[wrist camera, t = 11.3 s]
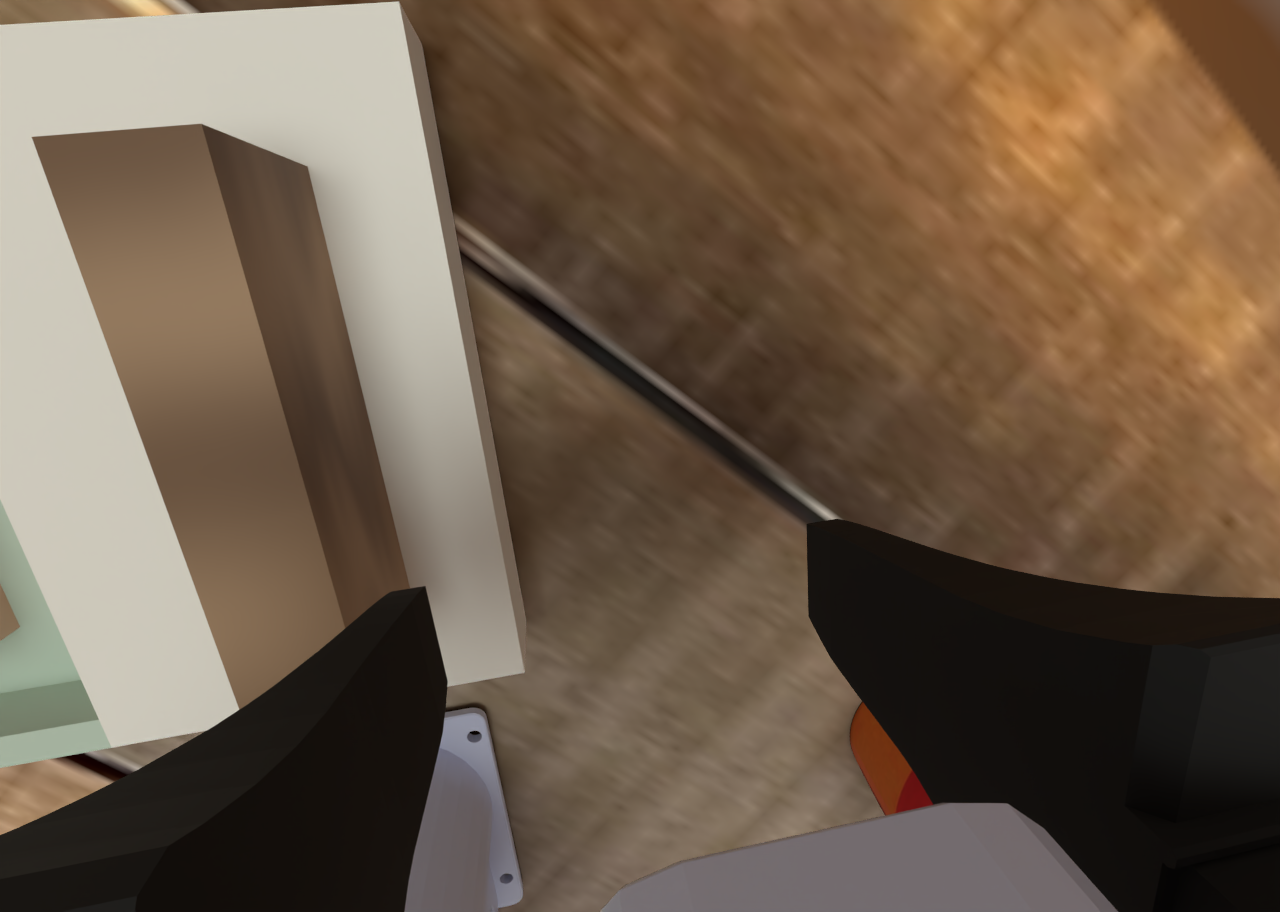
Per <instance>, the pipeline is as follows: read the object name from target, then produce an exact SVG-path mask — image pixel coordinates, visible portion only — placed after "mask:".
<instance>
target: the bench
mask: <svg viewBox="0 0 1280 912" xmlns="http://www.w3.org/2000/svg"><path fill="white" fill-rule="evenodd" d="M190 124H203V125H206V126H208V127H211V128H213V129H216V130H218V131H221V132H223V133H226V134H228V135H231V136H233V137H236V138H238V139H241V140H243V141H246V142H248V143H251V144H253V145H256V146H258V147H261V148H263V149H266V150H268V151H270V152H273V153H275V154H278V155H280V156H283V157H285V158H288V159H290V160H293V161H295V162H298V163H300V164H303V165H305V166H308V170H309V175H310V179H311V183H312V187H313V191H314V195H315V199H316V203H317V208H318V212H319V216H320V220H321V224H322V228H323V232H324V236H325V240H326V245H327V249H328V253H329V257H330V261H331V265H332V269H333V273H334V277H335V282H336V286H337V290H338V294H339V298H340V302H341V306H342V310H343V314H344V319H345V323H346V327H347V331H348V335H349V339H350V343H351V347H352V351H353V356H354V360H355V364H356V368H357V372H358V376H359V380H360V384H361V388H362V393H363V397H364V401H365V405H366V409H367V413H368V417H369V421H370V426H371V430H372V434H373V438H374V442H375V446H376V450H377V454H378V458H379V463H380V467H381V471H382V475H383V479H384V483H385V487H386V491H387V495H388V500H389V504H390V508H391V512H392V516H393V520H394V524H395V528H396V532H397V537H398V541H399V545H400V549H401V553H402V557H403V561H404V565H405V569H406V574H407V578H408V582H409V586H410V588H416V587H422V586H426V591H427V595H428V599H429V603H430V608H431V612H432V616H433V621H434V625H435V629H436V633H437V638H438V642H439V646H440V650H441V655H442V659H443V663H444V668H445V672H446V676H447V680H448V684H447V687H449V686H454V685H460V684H465V683H471V682H476V681H482V680H487V679H493V678H498V677H504V676H510V675H515V674H521V673H525V652H526V616H525V610H524V605H523V599H522V594H521V588H520V583H519V577H518V572H517V566H516V561H515V555H514V550H513V544H512V539H511V533H510V528H509V522H508V517H507V511H506V506H505V500H504V494H503V489H502V483H501V478H500V472H499V467H498V461H497V456H496V450H495V445H494V439H493V434H492V428H491V423H490V417H489V412H488V406H487V401H486V395H485V390H484V384H483V379H482V373H481V368H480V362H479V356H478V351H477V345H476V340H475V334H474V329H473V323H472V318H471V312H470V307H469V301H468V296H467V290H466V285H465V279H464V274H463V268H462V263H461V257H460V252H459V246H458V241H457V235H456V230H455V224H454V218H453V213H452V207H451V202H450V196H449V191H448V185H447V180H446V174H445V169H444V163H443V158H442V152H441V147H440V141H439V136H438V130H437V125H436V119H435V114H434V108H433V103H432V97H431V92H430V86H429V80H428V75H427V69H426V64H425V58H424V53H423V47H422V43H421V42H420V40H419V38H418V36H417V34H416V32H415V30H414V29H413V27H412V25H411V23H410V21H409V19H408V17H407V16H406V14H405V12H404V10H403V8H402V6H401V4H400V3H399V2H384V3H367V4H350V5H333V6H316V7H299V8H282V9H265V10H248V11H231V12H214V13H197V14H180V15H162V16H145V17H128V18H111V19H94V20H77V21H60V22H43V23H26V24H9V25H0V500H1V502H2V505H3V507H4V509H5V511H6V514H7V516H8V518H9V520H10V522H11V525H12V527H13V529H14V531H15V534H16V536H17V538H18V540H19V543H20V545H21V547H22V549H23V551H24V554H25V556H26V558H27V560H28V563H29V565H30V567H31V569H32V572H33V574H34V576H35V578H36V580H37V583H38V585H39V587H40V589H41V592H42V594H43V596H44V598H45V600H46V603H47V605H48V607H49V609H50V612H51V614H52V616H53V618H54V621H55V623H56V625H57V627H58V629H59V632H60V634H61V636H62V638H63V641H64V643H65V645H66V647H67V650H68V652H69V654H70V656H71V658H72V661H73V663H74V665H75V667H76V670H77V672H78V674H79V676H80V678H81V681H82V683H83V685H84V687H85V690H86V692H87V694H88V696H89V699H90V701H91V703H92V705H93V707H94V710H95V712H96V714H97V716H98V719H99V721H100V723H101V725H102V727H103V730H104V732H105V734H106V736H107V739H108V741H109V743H110V745H111V748H113V747H118V746H124V745H129V744H135V743H140V742H146V741H151V740H157V739H162V738H168V737H173V736H179V735H184V734H190V733H195V732H201V731H206V730H209V729H210V728H212V727H213V726H215V725H217V724H218V723H220V722H221V721H223V720H224V719H226V718H227V717H229V716H230V715H232V714H234V713H235V712H237V711H238V710H239V707H238V705H237V702H236V699H235V696H234V694H233V691H232V688H231V685H230V682H229V680H228V677H227V674H226V671H225V669H224V666H223V663H222V660H221V658H220V655H219V652H218V649H217V647H216V644H215V641H214V638H213V636H212V633H211V630H210V627H209V625H208V622H207V619H206V616H205V614H204V611H203V608H202V605H201V603H200V600H199V597H198V594H197V592H196V589H195V586H194V583H193V581H192V578H191V575H190V572H189V569H188V567H187V564H186V561H185V558H184V556H183V553H182V550H181V547H180V545H179V542H178V539H177V536H176V534H175V531H174V528H173V525H172V523H171V520H170V517H169V514H168V512H167V509H166V506H165V503H164V501H163V498H162V495H161V492H160V490H159V487H158V484H157V481H156V479H155V476H154V473H153V470H152V467H151V465H150V462H149V459H148V456H147V454H146V451H145V448H144V445H143V443H142V440H141V437H140V434H139V432H138V429H137V426H136V423H135V421H134V418H133V415H132V412H131V410H130V407H129V404H128V401H127V399H126V396H125V393H124V390H123V388H122V385H121V382H120V379H119V377H118V374H117V371H116V368H115V365H114V363H113V360H112V357H111V354H110V352H109V349H108V346H107V343H106V341H105V338H104V335H103V332H102V330H101V327H100V324H99V321H98V319H97V316H96V313H95V310H94V308H93V305H92V302H91V299H90V297H89V294H88V291H87V288H86V286H85V283H84V280H83V277H82V275H81V272H80V269H79V266H78V263H77V261H76V258H75V255H74V252H73V250H72V247H71V244H70V241H69V239H68V236H67V233H66V230H65V228H64V225H63V222H62V219H61V217H60V214H59V211H58V208H57V206H56V203H55V200H54V197H53V195H52V192H51V189H50V186H49V184H48V181H47V178H46V175H45V173H44V170H43V167H42V164H41V161H40V159H39V156H38V153H37V150H36V148H35V145H34V142H33V139H32V137H36V136H49V135H62V134H75V133H88V132H100V131H113V130H126V129H139V128H152V127H165V126H177V125H190Z"/></svg>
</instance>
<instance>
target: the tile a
mask: <svg viewBox="0 0 1280 912" xmlns="http://www.w3.org/2000/svg"><path fill="white" fill-rule="evenodd" d="M19 627H20V625H19V623H18V621H17V619H16V617H15V615H14V612H13V610H12V608H11V606H10V604H9V601H8V599H7V597H6V595H5V593H4V591H3V588H2V586H1V584H0V641H1V640H2V639H4V638H5V637H7V636H8V635H9V634H11V633H12V632H14V631H15V630H16V629H18V628H19Z"/></svg>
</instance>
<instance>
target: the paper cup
mask: <svg viewBox="0 0 1280 912" xmlns="http://www.w3.org/2000/svg"><path fill="white" fill-rule="evenodd" d="M850 743H851V747H852V750H853V753H854V756H855V758H856V760H857V762H858V764H859V767H860V769H861V771H862V773H863V775H864V776H865V778H866V780H867V782H868V784H869V786H870V788H871V790H872V792H873V794H874V796H875V797H876V799H877V801H878V803H879V805H880V807H881V809H882V810H883V812H884V814H885V816H886V815H890V814H895V813H899V812H904V811H908V810H913V809H917V808H922V807H926V806H931V805H933V803H932V802H931V800H930V798H929V797H928V795H927V793H926V791H925V790H924V788H923V786H922V785H921V783H920V781H919V780H918V778H917V776H916V775H915V773H914V772H913V770H912V769H911V767H910V766H909V764H908V763H907V761H906V760H905V758H904V757H903V755H902V754H901V752H900V751H899V750H898V748H897V747H896V746H895V744H894V743H893V742H892V740H891V739H890V738H889V736H888V735H887V734H886V732H885V731H884V730H883V728H882V727H881V726H880V724H879V723H878V721H877V720H876V719H875V717H874V716H873V715H872V713H871V712H870V711H869V709H868V708H867V707H866V705H865V704H864V703H863V702H862V703H861V705H860V706H859V708H858V710H857V712H856V714H855V716H854V718H853V721H852V725H851V730H850Z"/></svg>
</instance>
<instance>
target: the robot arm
mask: <svg viewBox="0 0 1280 912" xmlns="http://www.w3.org/2000/svg"><path fill="white" fill-rule="evenodd" d="M807 561H808V609H809V618H810V620H811V622H812V624H813V626H814V628H815V630H816V632H817V634H818V635H819V637H820V639H821V641H822V643H823V645H824V647H825V648H826V650H827V652H828V654H829V656H830V657H831V659H832V660H833V662H834V663H835V665H836V666H837V667H838V669H839V670H840V672H841V673H842V674H843V676H844V677H845V678H846V680H847V681H848V682H849V684H850V685H851V687H852V688H853V689H854V691H855V692H856V693H857V695H858V696H859V697H860V699H861V700H862V701H863V703H864V704H865V705H866V707H867V708H868V709H869V711H870V712H871V713H872V715H873V716H874V717H875V719H876V720H877V721H878V723H879V724H880V726H881V727H882V728H883V730H884V731H885V732H886V734H887V735H888V736H889V738H890V739H891V740H892V742H893V743H894V744H895V746H896V747H897V748H898V750H899V751H900V752H901V754H902V755H903V757H904V758H905V760H906V761H907V763H908V764H909V766H910V767H911V769H912V770H913V772H914V773H915V775H916V776H917V778H918V780H919V781H920V783H921V785H922V786H923V788H924V790H925V791H926V793H927V795H928V797H929V798H930V800H931V802H932V803H933V805H931V806H926V807H922V808H917V809H913V810H908V811H904V812H899V813H895V814H890V815H886V816H881V817H877V818H872V819H868V820H863V821H859V822H854V823H849V824H845V825H840V826H836V827H831V828H827V829H822V830H818V831H813V832H809V833H804V834H800V835H795V836H791V837H786V838H782V839H777V840H773V841H768V842H764V843H759V844H755V845H750V846H746V847H741V848H737V849H732V850H728V851H723V852H719V853H714V854H710V855H705V856H701V857H696V858H692V859H687V860H683V861H679V862H677V863H675V864H672V865H670V866H668V867H666V868H663V869H661V870H659V871H656V872H654V873H652V874H650V875H647V876H645V877H643V878H640V879H638V880H636V881H633V882H631V883H629V884H627V885H625V886H624V887H622V888H621V889H620V890H619V891H618V892H617V893H616V894H615V895H614V897H613V898H612V899H611V900H610V901H609V902H608V903H607V904H606V905H605V906H604V907H603V909H602V910H601V911H600V912H1280V598H1240V597H1210V596H1196V595H1182V594H1169V593H1156V592H1146V591H1136V590H1127V589H1119V588H1111V587H1104V586H1097V585H1090V584H1083V583H1076V582H1070V581H1064V580H1058V579H1052V578H1047V577H1042V576H1038V575H1033V574H1028V573H1023V572H1018V571H1014V570H1009V569H1005V568H1001V567H997V566H993V565H989V564H985V563H981V562H978V561H974V560H971V559H967V558H963V557H960V556H956V555H953V554H950V553H946V552H943V551H940V550H937V549H933V548H930V547H927V546H924V545H921V544H918V543H915V542H912V541H909V540H906V539H903V538H900V537H897V536H894V535H891V534H888V533H885V532H882V531H879V530H876V529H873V528H870V527H867V526H863V525H860V524H857V523H853V522H849V521H845V520H840V519H834V520H828V521H822V522H815V523H809V524H807ZM447 684H448V680H447V676H446V672H445V668H444V663H443V659H442V655H441V650H440V646H439V642H438V638H437V633H436V629H435V625H434V621H433V616H432V612H431V608H430V603H429V599H428V595H427V591H426V586H422V587H416V588H410V589H404V590H397V591H391V592H389V593H388V594H386V595H385V596H383V597H382V598H381V599H380V600H378V601H377V602H376V603H375V604H373V605H372V606H371V607H370V608H368V609H367V610H366V611H365V612H364V613H363V614H361V615H360V616H359V617H358V618H357V619H356V620H354V621H353V622H352V623H351V624H350V625H349V626H347V627H346V628H345V629H344V630H343V631H342V632H340V633H339V634H338V635H337V636H336V637H334V638H333V639H332V640H331V641H330V642H329V643H327V644H326V645H325V646H324V647H323V648H321V649H320V650H319V651H318V652H316V653H315V654H314V655H313V656H311V657H310V658H309V659H307V660H306V661H305V662H304V663H302V664H301V665H300V666H298V667H297V668H296V669H295V670H293V671H292V672H291V673H290V674H288V675H287V676H286V677H284V678H283V679H282V680H281V681H279V682H278V683H277V684H275V685H274V686H273V687H271V688H270V689H269V690H267V691H266V692H264V693H263V694H262V695H260V696H259V697H257V698H256V699H254V700H253V701H252V702H250V703H249V704H247V705H246V706H244V707H243V708H241V709H240V710H238V711H237V712H235V713H234V714H232V715H230V716H229V717H227V718H226V719H224V720H223V721H221V722H220V723H218V724H217V725H215V726H213V727H212V728H210V729H209V730H207V731H205V732H204V733H202V734H200V735H199V736H197V737H195V738H193V739H192V740H190V741H188V742H186V743H185V744H183V745H181V746H179V747H178V748H176V749H174V750H172V751H170V752H169V753H167V754H165V755H163V756H162V757H160V758H158V759H156V760H155V761H153V762H151V763H149V764H148V765H146V766H144V767H142V768H141V769H139V770H137V771H135V772H133V773H131V774H129V775H127V776H126V777H124V778H122V779H120V780H118V781H116V782H114V783H112V784H110V785H108V786H106V787H104V788H102V789H100V790H98V791H96V792H94V793H92V794H90V795H88V796H86V797H84V798H81V799H79V800H77V801H75V802H73V803H71V804H69V805H67V806H65V807H63V808H60V809H58V810H56V811H54V812H52V813H50V814H48V815H46V816H43V817H41V818H39V819H37V820H34V821H32V822H30V823H28V824H26V825H23V826H21V827H19V828H17V829H14V830H12V831H9V832H7V833H5V834H2V835H0V912H498V908H501V907H506V906H510V905H514V904H516V903H518V902H519V901H520V900H521V899H522V897H523V883H522V878H521V874H520V869H519V864H518V860H517V855H516V850H515V846H514V841H513V836H512V832H511V827H510V823H509V818H508V813H507V809H506V804H505V799H504V795H503V790H502V785H501V781H500V776H499V771H498V767H497V762H496V758H495V753H494V748H493V744H492V739H491V734H490V730H489V725H488V720H487V716H486V714H485V712H484V711H482V710H481V709H479V708H466V709H461V710H456V711H450V712H445V708H446V696H447ZM471 731H478V732H480V734H478V735H472V734H470V733H469V732H471Z"/></svg>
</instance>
